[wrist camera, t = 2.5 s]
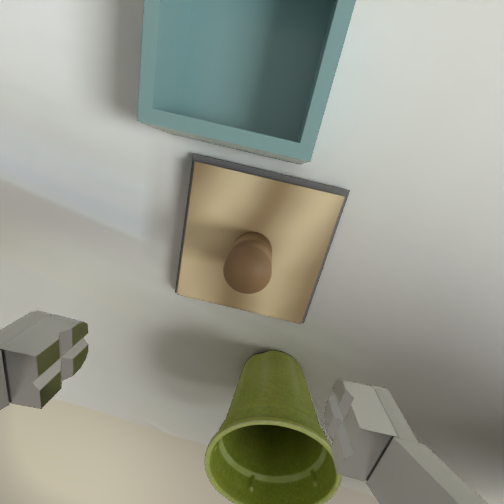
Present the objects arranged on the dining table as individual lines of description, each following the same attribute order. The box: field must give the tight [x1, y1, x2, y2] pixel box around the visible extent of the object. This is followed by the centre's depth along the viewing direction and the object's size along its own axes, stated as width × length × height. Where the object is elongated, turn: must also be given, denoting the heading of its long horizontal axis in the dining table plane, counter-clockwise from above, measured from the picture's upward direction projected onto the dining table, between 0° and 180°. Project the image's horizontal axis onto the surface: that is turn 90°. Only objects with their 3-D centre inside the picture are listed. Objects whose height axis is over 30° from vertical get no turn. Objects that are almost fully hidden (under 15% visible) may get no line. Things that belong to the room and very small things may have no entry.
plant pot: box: [205, 351, 341, 504], centre depth 21 cm, size 9×9×9 cm
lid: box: [177, 162, 345, 324], centre depth 17 cm, size 11×11×5 cm
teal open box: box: [137, 0, 356, 164], centre depth 14 cm, size 10×10×5 cm
